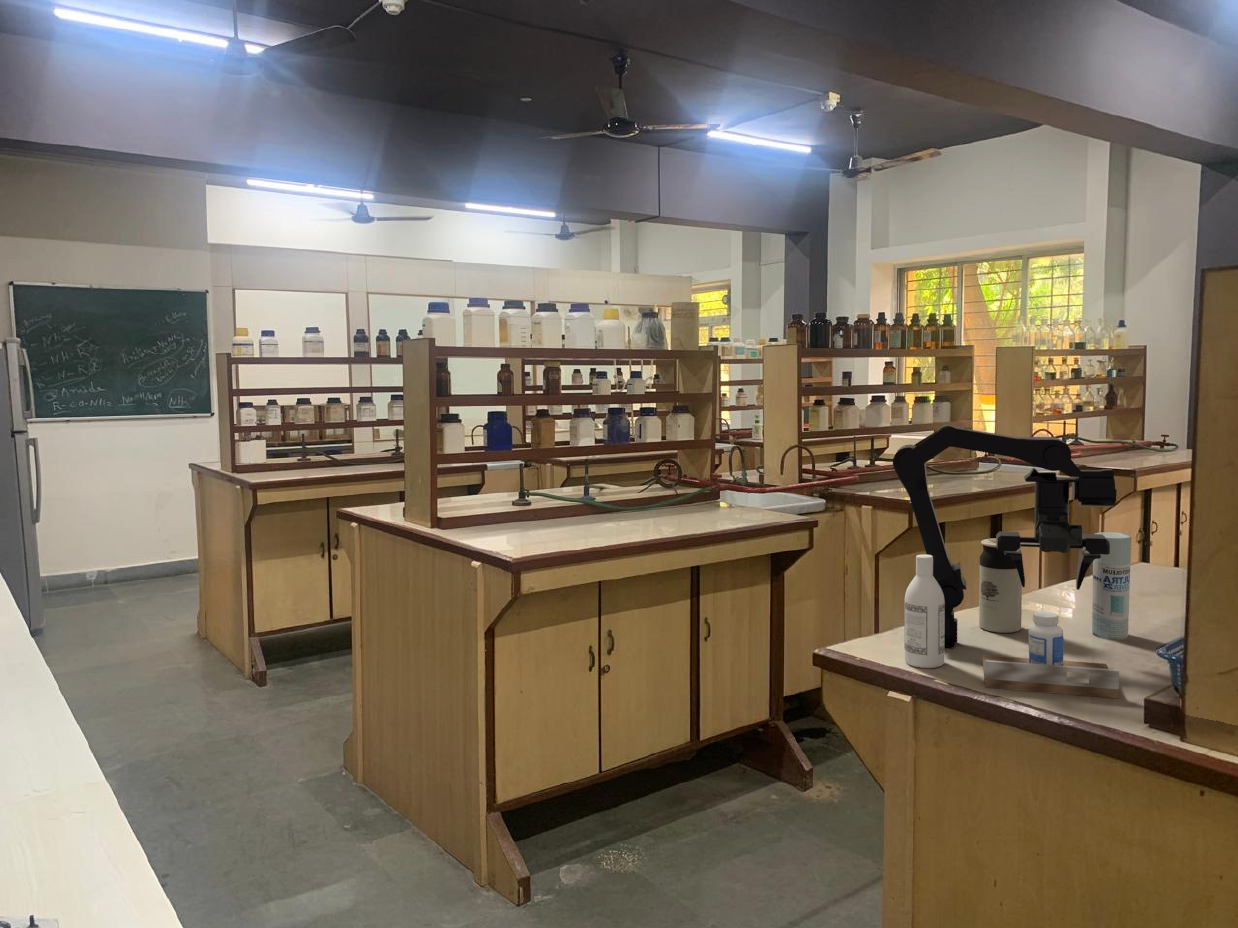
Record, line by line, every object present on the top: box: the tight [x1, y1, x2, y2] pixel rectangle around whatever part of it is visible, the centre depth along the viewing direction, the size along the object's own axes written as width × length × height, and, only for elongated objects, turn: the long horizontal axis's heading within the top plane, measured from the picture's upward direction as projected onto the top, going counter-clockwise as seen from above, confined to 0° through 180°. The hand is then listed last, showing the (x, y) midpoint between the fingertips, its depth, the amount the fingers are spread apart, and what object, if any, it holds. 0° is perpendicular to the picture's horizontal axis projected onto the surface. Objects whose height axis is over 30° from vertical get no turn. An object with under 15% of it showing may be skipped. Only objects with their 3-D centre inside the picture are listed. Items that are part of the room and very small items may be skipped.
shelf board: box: [982, 654, 1120, 699], centre depth 155 cm, size 20×13×4 cm, turn 70°
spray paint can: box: [1091, 531, 1132, 641], centre depth 177 cm, size 6×6×20 cm
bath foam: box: [903, 554, 946, 669], centre depth 165 cm, size 7×7×20 cm
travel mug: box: [978, 538, 1023, 634], centre depth 184 cm, size 8×8×18 cm
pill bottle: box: [1028, 610, 1064, 666], centre depth 156 cm, size 6×5×10 cm
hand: (1050, 587), depth 169 cm, fingers open, 9 cm apart
